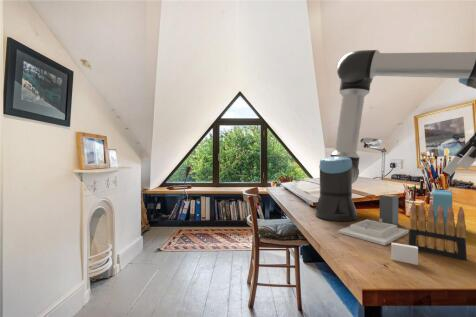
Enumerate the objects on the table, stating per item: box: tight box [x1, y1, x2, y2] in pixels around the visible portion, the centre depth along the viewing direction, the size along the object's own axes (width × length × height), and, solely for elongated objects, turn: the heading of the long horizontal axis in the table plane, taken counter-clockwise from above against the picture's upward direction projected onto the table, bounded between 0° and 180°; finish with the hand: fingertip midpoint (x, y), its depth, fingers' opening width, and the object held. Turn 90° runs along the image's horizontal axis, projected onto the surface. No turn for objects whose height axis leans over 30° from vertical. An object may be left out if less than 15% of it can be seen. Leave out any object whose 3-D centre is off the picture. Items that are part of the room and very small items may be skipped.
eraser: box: [390, 242, 419, 266], centre depth 52 cm, size 1×5×4 cm, turn 57°
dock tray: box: [338, 217, 409, 246], centre depth 72 cm, size 13×17×4 cm
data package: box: [432, 189, 453, 233], centre depth 76 cm, size 12×4×12 cm, turn 138°
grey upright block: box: [379, 193, 399, 226], centre depth 81 cm, size 4×5×10 cm
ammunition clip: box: [408, 201, 468, 262], centre depth 57 cm, size 11×2×12 cm, turn 47°
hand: (454, 170), depth 76 cm, fingers open, 13 cm apart
